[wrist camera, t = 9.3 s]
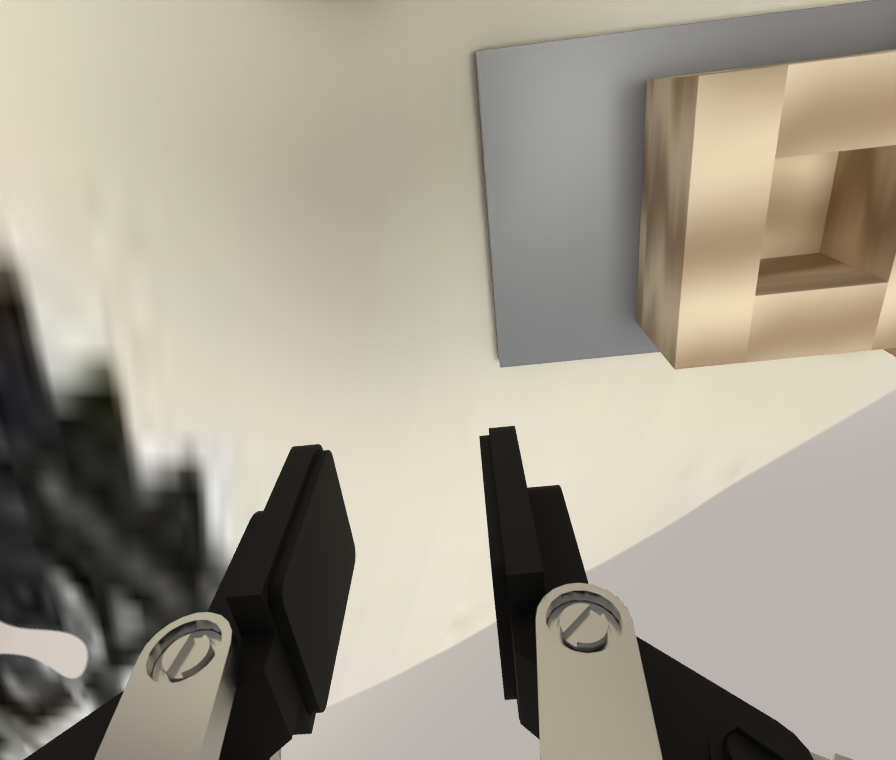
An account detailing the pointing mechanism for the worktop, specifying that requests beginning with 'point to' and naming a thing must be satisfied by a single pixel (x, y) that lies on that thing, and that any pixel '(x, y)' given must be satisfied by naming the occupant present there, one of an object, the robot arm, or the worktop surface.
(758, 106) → the socket block
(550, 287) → the rail board
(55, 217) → the worktop surface
